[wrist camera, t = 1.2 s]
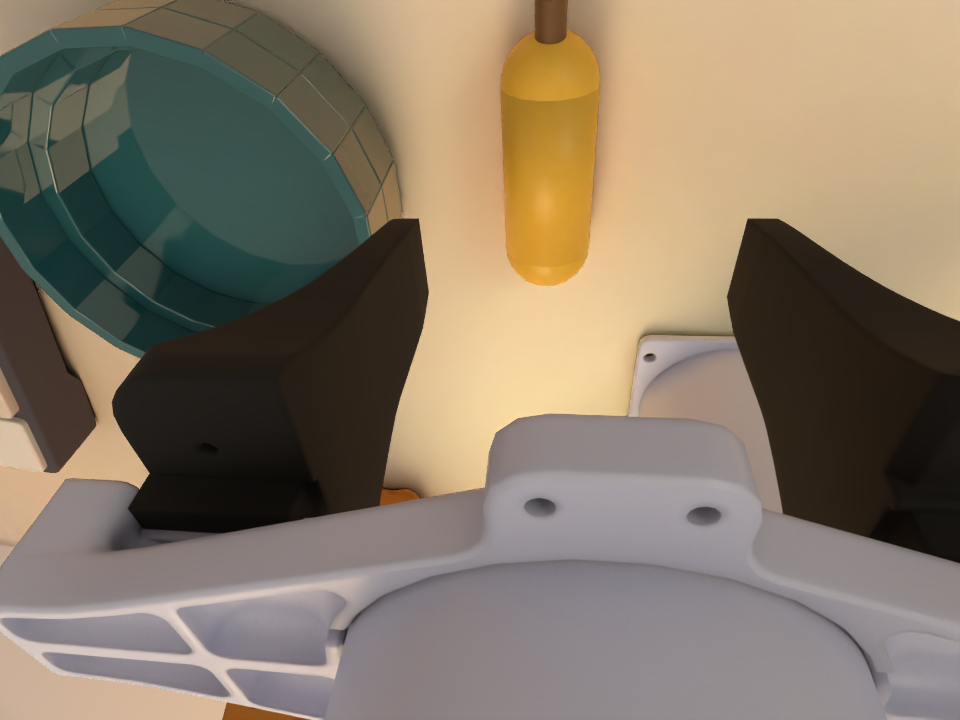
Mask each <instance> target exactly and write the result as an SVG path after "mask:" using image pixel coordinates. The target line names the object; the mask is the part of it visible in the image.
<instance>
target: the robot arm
mask: <svg viewBox="0 0 960 720" xmlns="http://www.w3.org/2000/svg"><path fill="white" fill-rule="evenodd" d="M428 294H429V291H428V284H427V277H426V269H425V262H424V255H423V247H422V240H421V232H420V225H419V219H392V220H390V221H389V222H387V223H386V224H385V225H384V226H382V227H381V228H380V229H379V230H377V231H376V232H375V233H374V234H373V235H372V236H370V237H369V238H368V239H367V240H366V241H364V242H363V243H362V244H361V245H360V246H358V247H357V248H356V249H355V250H354V251H352V252H351V253H350V254H349V255H347V256H346V257H345V258H344V259H342V260H341V261H339V262H338V263H337V264H335V265H334V266H333V267H331V268H330V269H329V270H327V271H326V272H324V273H323V274H322V275H320V276H319V277H317V278H316V279H314V280H313V281H311V282H310V283H308V284H307V285H305V286H303V287H302V288H300V289H298V290H297V291H295V292H293V293H291V294H290V295H288V296H286V297H284V298H282V299H280V300H278V301H276V302H274V303H272V304H270V305H268V306H266V307H263V308H261V309H259V310H257V311H255V312H253V313H251V314H248V315H246V316H244V317H241V318H239V319H236V320H233V321H231V322H228V323H225V324H223V325H220V326H217V327H214V328H211V329H208V330H205V331H202V332H199V333H195V334H192V335H188V336H184V337H181V338H177V339H173V340H170V341H166V342H162V343H158V344H154V345H151V346H150V348H149V349H148V350H147V351H146V353H145V354H144V355H143V357H142V358H141V359H140V361H139V362H138V363H137V364H136V366H135V367H134V368H133V370H132V371H131V372H130V373H129V375H128V376H127V377H126V379H125V380H124V381H123V383H122V384H121V385H120V386H119V388H118V389H117V390H116V393H115V395H114V398H113V401H112V407H113V415H114V417H115V419H116V421H117V423H118V425H119V427H120V429H121V431H122V433H123V434H124V436H125V437H126V439H127V440H128V442H129V443H130V445H131V446H132V448H133V449H134V451H135V452H136V454H137V455H138V457H139V458H140V459H141V461H142V462H143V464H144V465H145V467H146V468H147V470H148V471H149V473H150V474H149V475H148V477H147V479H146V480H145V482H144V483H143V485H142V487H141V488H140V489H139V488H138V487H136V486H134V485H132V484H130V483H127V482H122V481H113V480H94V479H75V478H72V479H66V480H65V481H64V482H63V484H62V485H61V486H60V488H59V489H58V490H57V492H56V493H55V494H54V496H53V497H52V498H51V500H50V501H49V502H48V504H47V505H46V506H45V508H44V509H43V510H42V512H41V513H40V514H39V516H38V517H37V518H36V520H35V521H34V522H33V524H32V525H31V526H30V528H29V529H28V530H27V532H26V533H25V535H24V536H23V537H22V539H21V540H20V541H19V543H18V544H17V545H16V547H15V548H14V549H13V551H12V552H11V553H10V555H9V556H8V557H7V559H6V560H5V561H4V563H3V564H2V565H1V567H0V632H1V633H2V634H4V635H5V636H6V637H7V638H9V639H10V640H11V641H13V642H14V643H15V644H17V645H18V646H19V647H21V648H22V649H23V650H24V651H26V652H27V653H28V654H30V655H31V656H32V657H34V658H35V659H36V660H38V661H39V662H40V663H41V664H43V665H44V666H45V667H47V668H48V669H49V670H51V671H52V672H53V673H55V674H57V675H66V676H74V677H84V678H92V679H101V680H110V681H116V682H122V683H129V684H135V685H142V686H148V687H154V688H159V689H165V690H170V691H175V692H180V693H185V694H190V695H195V696H201V697H205V698H210V699H215V700H220V701H224V702H229V703H234V704H238V705H243V706H248V707H253V708H257V709H262V710H267V711H272V712H277V713H281V714H286V715H291V716H296V717H300V718H305V719H310V720H960V321H957V320H955V319H952V318H950V317H947V316H945V315H942V314H940V313H938V312H935V311H933V310H931V309H928V308H926V307H924V306H922V305H920V304H918V303H916V302H914V301H912V300H910V299H908V298H906V297H903V296H901V295H899V294H897V293H895V292H894V291H892V290H890V289H888V288H886V287H884V286H883V285H881V284H879V283H877V282H876V281H874V280H872V279H871V278H869V277H867V276H865V275H864V274H862V273H860V272H859V271H857V270H856V269H854V268H852V267H851V266H849V265H848V264H846V263H845V262H843V261H842V260H840V259H838V258H837V257H836V256H834V255H833V254H831V253H830V252H828V251H827V250H825V249H824V248H822V247H821V246H819V245H818V244H816V243H815V242H814V241H812V240H811V239H809V238H808V237H806V236H805V235H803V234H802V233H800V232H799V231H797V230H796V229H794V228H793V227H791V226H790V225H788V224H787V223H785V222H783V221H781V220H779V219H748V220H747V223H746V227H745V231H744V235H743V239H742V242H741V246H740V250H739V254H738V257H737V261H736V265H735V269H734V272H733V276H732V280H731V284H730V288H729V291H728V295H727V299H728V306H729V312H730V318H731V323H732V328H733V333H734V336H677V335H648V336H645V337H643V338H642V339H641V340H640V341H639V344H638V350H637V357H636V364H635V370H634V377H633V384H632V390H631V397H630V404H629V411H628V416H602V415H574V414H543V415H537V416H530V417H523V418H518V419H516V420H515V421H513V422H512V423H510V424H509V425H507V426H506V427H504V428H503V429H501V430H500V431H498V432H496V434H495V437H494V440H493V442H492V445H491V448H490V451H489V457H488V466H487V475H486V484H485V488H479V489H473V490H468V491H462V492H456V493H451V494H445V495H439V496H433V497H428V498H422V499H416V500H411V501H405V502H399V503H394V504H388V505H382V506H380V501H381V494H382V487H383V481H384V475H385V470H386V464H387V458H388V452H389V447H390V442H391V436H392V431H393V426H394V421H395V416H396V412H397V408H398V404H399V401H400V397H401V394H402V391H403V388H404V385H405V382H406V379H407V376H408V372H409V369H410V366H411V363H412V360H413V357H414V354H415V351H416V348H417V345H418V342H419V338H420V335H421V332H422V329H423V324H424V319H425V313H426V307H427V300H428ZM649 353H652V354H653V355H652V356H645V355H646V354H649Z"/></svg>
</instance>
